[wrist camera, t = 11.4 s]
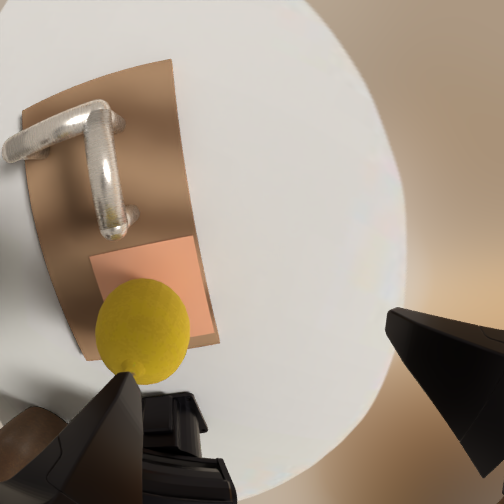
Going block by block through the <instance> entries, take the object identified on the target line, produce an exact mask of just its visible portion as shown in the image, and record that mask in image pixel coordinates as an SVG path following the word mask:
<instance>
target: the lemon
mask: <svg viewBox="0 0 504 504" xmlns="http://www.w3.org/2000/svg"><path fill="white" fill-rule="evenodd" d="M95 337H96V345H97V349H98V352H99V354H100V357H101V359H102V361H103V362H104V364H105V365H106V366H107V368H108V369H109V370H110V371H111V372H113V373H114V374H115V375H116V374H117V373H119V372H127V371H129V372H131V374H132V375H133V377H134V379H135V381H136V383H137V384H139V385H148V384H154V383H158V382H160V381H163V380H165V379H166V378H168V377H169V376H170V375H172V374H173V373H174V372H175V371H176V370H177V368H178V367H179V365H180V364H181V362H182V361H183V359H184V357H185V354H186V351H187V348H188V344H189V340H190V321H189V317H188V314H187V311H186V307H185V305H184V304H183V302H182V300H181V299H180V297H179V296H178V295H177V294H176V293H175V292H174V291H173V290H172V289H171V288H170V287H168V286H167V285H165V284H164V283H162V282H159V281H156V280H153V279H146V278H139V279H133V280H130V281H127V282H125V283H123V284H121V285H119V286H118V287H117V288H115V289H114V290H113V291H112V292H111V293H110V294H109V295H108V296H107V298H106V299H105V301H104V303H103V304H102V306H101V308H100V310H99V314H98V318H97V322H96V328H95Z"/></svg>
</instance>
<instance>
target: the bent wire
mask: <svg viewBox="0 0 504 504" xmlns="http://www.w3.org/2000/svg"><path fill="white" fill-rule="evenodd" d="M125 126H126V121H125V119H124V118H123V117H121V116H120V115H118V114H117V113H115V112H114V111H112V110H111V107H110V105H109V104H108V103H107V102H106V101H104V100H101V99H97V100H93V101H90V102H87V103H85V104H82V105H79V106H76V107H74V108H71V109H69V110H66V111H64V112H61V113H59V114H57V115H54V116H52V117H50V118H48V119H45V120H43V121H41V122H39V123H37V124H35V125H33V126H31V127H29V128H27V129H25V130H23V131H21V132H19V133H17V134H15V135H13V136H12V137H10V138H8V139H7V140H6V141H5V143H4V144H3V147H2V157H3V159H4V160H5V161H6V162H8V163H14V162H17V161H19V160H22V159H46V158H47V157H48V156H49V154H50V146H52V145H54V144H57V143H59V142H62V141H64V140H67V139H70V138H72V137H75V136H78V135H81V134H84V144H85V152H86V160H87V167H88V174H89V180H90V186H91V192H92V197H93V202H94V207H95V212H96V216H97V221H98V225H99V229H100V233H101V234H102V236H103V237H104V238H105V239H107V240H109V241H118V240H120V239H122V238H123V237H124V236H125V235H126V233H127V231H128V228H129V227H130V226H131V225H132V224H133V223H134V222H136V221H137V220H138V218H139V216H140V211H139V209H138V207H137V206H135V205H132V204H130V205H127V206H125V205H124V200H123V194H122V189H121V183H120V177H119V171H118V165H117V158H116V150H115V143H114V134H119V133H121V132H122V131H123V130H124V129H125Z"/></svg>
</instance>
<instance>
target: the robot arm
mask: <svg viewBox="0 0 504 504" xmlns="http://www.w3.org/2000/svg"><path fill="white" fill-rule="evenodd" d="M385 332H386V335H387V337H388V338H389V340H390V341H391V343H392V345H393V346H394V348H395V350H396V351H397V353H398V355H399V356H400V358H401V360H402V361H403V363H404V364H405V366H406V367H407V369H408V370H409V371H410V372H411V374H412V375H413V377H414V378H415V379H416V381H417V382H418V383H419V385H420V386H421V387H422V389H423V390H424V391H425V392H426V394H427V395H428V397H429V398H430V400H431V401H432V402H433V404H434V405H435V406H436V408H437V409H438V411H439V412H440V414H441V415H442V417H443V418H444V419H445V421H446V422H447V424H448V425H449V427H450V428H451V430H452V431H453V432H454V434H455V436H456V437H457V439H458V440H459V441H460V443H461V445H462V446H463V448H464V450H465V451H466V453H467V454H468V456H469V457H470V459H471V461H472V462H473V464H474V465H475V467H476V468H477V470H478V472H479V473H480V475H481V476H482V478H485V477H486V476H487V475H488V474H489V473H490V472H491V471H493V470H494V469H495V468H496V467H497V466H498V465H499V464H500V463H501V462H502V461H503V460H504V330H499V329H494V328H489V327H483V326H478V325H474V324H470V323H465V322H461V321H456V320H452V319H447V318H443V317H438V316H434V315H429V314H425V313H420V312H417V311H412V310H408V309H404V308H400V307H396V308H394V309H391V310H389V311H388V313H387V319H386V327H385ZM188 397H190V398H188ZM207 431H208V427H207V424H206V422H205V420H204V418H203V416H202V413H201V411H200V409H199V407H198V404H197V402H196V400H195V397H194V395H193V394H192V393H182V394H175V395H166V396H157V397H146V398H141V391H140V388H139V386H138V385H137V383H136V381H135V379H134V377H133V375H132V374H131V372H129V371H127V372H119V373H117V374H116V375H115V376H114V377H113V378H112V379H111V380H110V381H109V382H108V384H107V385H106V386H105V387H104V388H103V389H102V390H101V391H100V392H99V393H98V394H97V395H96V396H95V397H94V398H93V399H92V400H91V401H90V402H89V403H88V404H87V405H86V406H85V407H84V408H83V409H82V410H81V411H80V413H79V414H78V415H77V416H76V417H75V418H74V419H73V420H72V421H71V422H70V423H69V424H68V425H67V426H66V427H65V428H64V429H63V430H62V431H61V432H60V433H59V436H56V438H55V439H54V440H53V441H52V442H51V443H50V444H49V445H48V446H47V447H46V448H45V449H44V450H43V451H42V452H41V453H40V454H38V455H37V456H36V457H35V458H34V459H33V460H32V461H31V462H29V463H28V464H27V465H26V466H25V467H23V468H22V469H21V470H20V471H19V472H18V473H16V474H15V475H14V476H13V477H12V478H10V479H8V480H6V481H3V482H0V504H237V494H236V490H235V487H234V484H233V482H232V480H231V477H230V475H229V473H228V470H227V468H226V465H225V463H224V460H223V459H221V458H216V459H211V458H202V454H201V444H200V433H205V432H207ZM502 493H503V495H504V484H503V490H502ZM497 504H504V497H503V498H502V499H501V500H500V501H499V502H498V503H497Z"/></svg>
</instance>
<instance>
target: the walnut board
mask: <svg viewBox="0 0 504 504" xmlns="http://www.w3.org/2000/svg"><path fill="white" fill-rule="evenodd" d="M97 99H101V100H104V101H106V102H107V103H108V104H109V105H110V107H111V110H112V111H114V112H115V113H117V114H118V115H120V116H121V117H123V118H124V119H125V121H126V126H125V129H124V130H123V131H122V132H121V133H119V134H114V143H115V150H116V158H117V165H118V171H119V177H120V183H121V189H122V194H123V200H124V205H125V206H127V205H130V204H132V205H135V206H137V207H138V209H139V211H140V216H139V218H138V220H137V221H136V222H134V223H133V224H132V225H131V226H130V227H129V228H128V231H127V233H126V235H125V236H124V237H123V238H122V239H120V240H118V241H109V240H107V239H105V238H104V237H103V236H102V234H101V233H100V229H99V225H98V221H97V216H96V212H95V207H94V202H93V197H92V192H91V186H90V180H89V174H88V167H87V160H86V152H85V144H84V134H81V135H78V136H75V137H72V138H70V139H67V140H64V141H62V142H59V143H57V144H54V145H52V146H50V154H49V156H48V157H47V158H46V159H25V168H26V176H27V184H28V190H29V196H30V202H31V207H32V212H33V217H34V221H35V226H36V230H37V234H38V238H39V242H40V245H41V249H42V252H43V256H44V259H45V262H46V266H47V269H48V272H49V275H50V278H51V281H52V284H53V286H54V289H55V292H56V295H57V297H58V300H59V302H60V305H61V307H62V310H63V312H64V315H65V317H66V319H67V321H68V324H69V326H70V328H71V330H72V333H73V335H74V337H75V339H76V341H77V343H78V345H79V347H80V349H81V351H82V353H83V355H84V357H85V359H86V361H93V360H102V359H101V357H100V354H99V352H98V349H97V345H96V337H95V328H96V322H97V318H98V314H99V310H100V308H101V306H102V304H103V303H104V301H103V298H102V295H101V292H100V289H99V286H98V283H97V280H96V277H95V274H94V271H93V268H92V264H91V261H90V258H89V257H90V256H92V255H97V254H101V253H106V252H111V251H115V250H120V249H125V248H129V247H134V246H139V245H144V244H148V243H153V242H158V241H163V240H168V239H173V238H178V237H184V236H189V235H193V237H194V242H195V247H196V252H197V257H198V262H199V267H200V271H201V276H202V281H203V285H204V290H205V294H206V298H207V303H208V307H209V311H210V315H211V319H212V324H213V328H214V332H215V333H211V334H206V335H200V336H195V337H190V340H189V344H188V348H187V349H190V348H196V347H202V346H208V345H213V344H218V343H220V340H219V335H218V330H217V326H216V322H215V318H214V314H213V309H212V305H211V301H210V296H209V292H208V287H207V283H206V278H205V273H204V268H203V264H202V259H201V254H200V249H199V244H198V239H197V233H196V228H195V223H194V217H193V212H192V206H191V200H190V194H189V188H188V182H187V176H186V170H185V163H184V157H183V150H182V143H181V136H180V128H179V120H178V112H177V104H176V95H175V86H174V76H173V66H172V60H171V59H168V60H163V61H158V62H153V63H149V64H144V65H140V66H136V67H133V68H129V69H125V70H122V71H118V72H115V73H111V74H108V75H105V76H102V77H99V78H96V79H93V80H90V81H88V82H85V83H82V84H80V85H77V86H74V87H72V88H70V89H67V90H65V91H62V92H60V93H58V94H55V95H53V96H51V97H49V98H47V99H45V100H43V101H41V102H38V103H36V104H34V105H33V106H31V107H29V108H27V109H25V110H23V111H22V129H23V130H25V129H27V128H29V127H31V126H33V125H35V124H37V123H39V122H41V121H43V120H45V119H48V118H50V117H52V116H54V115H57V114H59V113H61V112H64V111H66V110H69V109H71V108H74V107H76V106H79V105H82V104H85V103H87V102H90V101H93V100H97Z"/></svg>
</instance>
